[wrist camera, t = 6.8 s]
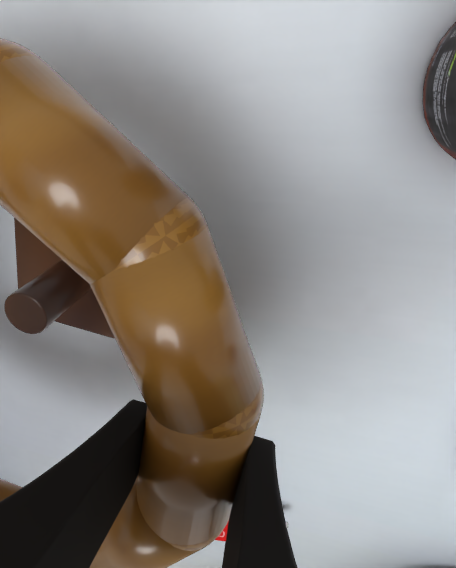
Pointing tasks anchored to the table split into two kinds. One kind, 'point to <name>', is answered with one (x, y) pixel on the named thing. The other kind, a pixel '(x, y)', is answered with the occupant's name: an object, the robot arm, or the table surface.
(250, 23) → the table surface
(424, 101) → the supplement bottle
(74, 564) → the robot arm
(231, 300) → the ring
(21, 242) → the peg stand
